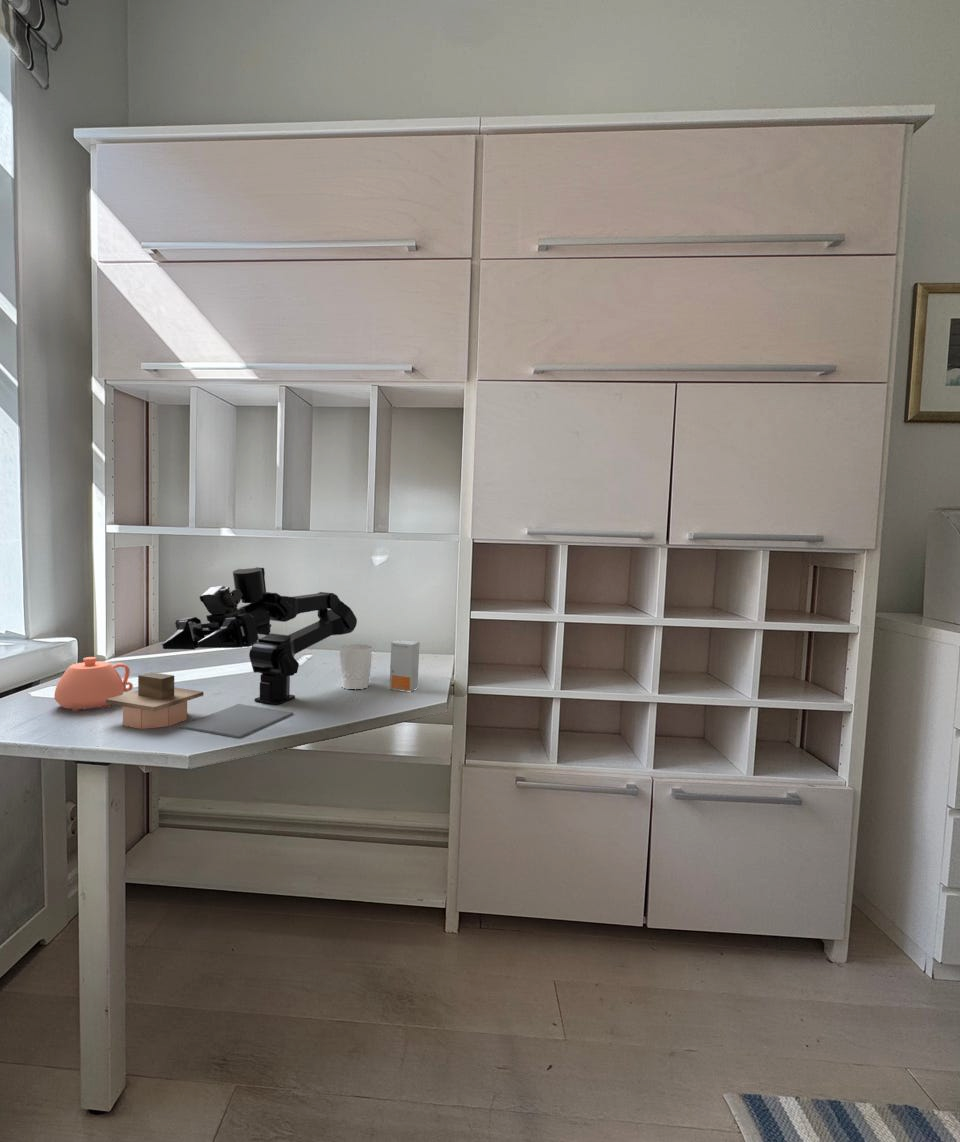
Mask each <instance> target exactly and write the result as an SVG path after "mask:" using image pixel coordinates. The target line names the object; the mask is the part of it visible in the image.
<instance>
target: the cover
mask: <svg viewBox="0 0 960 1142" xmlns="http://www.w3.org/2000/svg"><path fill="white" fill-rule="evenodd" d="M137 677H138V681H137V683H138V685H137V689H138V690H134V691H131V692H126V693H123V694H122V695H120V696H116V697H112V698H109V699H106V703H107V704H110V705H114V706H118V707H119V706H120V707H123V706H125V707H131V708H137V709H142V710H148V711H157V710H160V709H163V708H166V707H170V706H173V705H176V704H179V703H182V702H185V701H187V702H188V701H191V700H194V699H197V698H199V697H204V691H201V690H194V689H188V688H187V689H186V688H180V687H175V675H172V674H166V673H160V672H158V673H157V672H147V673H142V674H138V675H137Z"/></svg>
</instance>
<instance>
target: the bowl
mask: <svg viewBox="0 0 960 1142" xmlns="http://www.w3.org/2000/svg"><path fill="white" fill-rule="evenodd" d="M187 720H188V701H185V702H182V703H179V704H176V705H173V706H170V707H166V708H163V709H160V710H157V711H148V710H142V709H137V708H131V707H125V706H122V726H123V725H125V726H124V727H128V726H129V728H135V729H140V730H144V729H154V728H163V727H165V728H166V727H170V726H173V725H177V724H178V722H179V723H181V721H182V722H183V721H184V722H185V721H187Z"/></svg>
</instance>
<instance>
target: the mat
mask: <svg viewBox="0 0 960 1142" xmlns="http://www.w3.org/2000/svg"><path fill="white" fill-rule="evenodd" d="M292 714H293V715H294V712H293V711H287V710H280V709H275V708H269V707H268V708H267V707H261V706H253V705H249V704H242V703H237V704H235V705H232V706H230V707H229V706H228V707H226V708H223V709H221V710H218V711H216V712H213V713H210V714H207V715H204V716H202V717H200V718H197V719H194V720H191V721H188V722H186V723H182V724H181V725H179V728H180V729H184V730H185V729H186V730H191V731H197V732H203V733H209V734H212V735H213V734H214V735H218V736H225V737H230V738H237V739H241V738H243V737H246V736H248V735H249V733H250V734H252V733H255V732H256V730H257V731H259V730H261V729H263V728H265V726H266V727H268V726H270V725H272V724H274V722H275V723H276V721H277V722H279V721H281V720H283V718H284V719H286V718H289V717H290V716H292ZM278 720H279V721H278ZM267 725H268V726H267ZM260 728H261V729H260ZM258 729H259V730H258ZM254 731H255V732H254Z"/></svg>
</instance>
